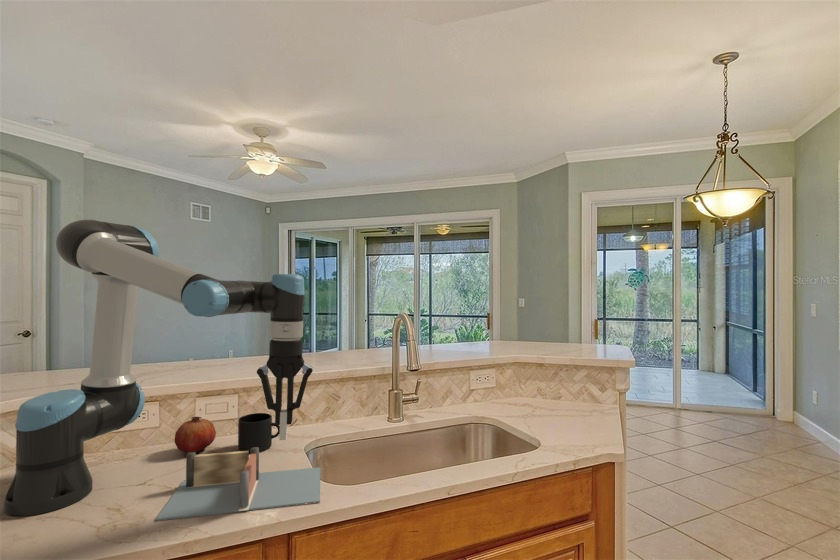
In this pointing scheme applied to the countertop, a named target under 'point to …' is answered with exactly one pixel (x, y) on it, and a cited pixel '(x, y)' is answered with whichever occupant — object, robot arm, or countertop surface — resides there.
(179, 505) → the mat
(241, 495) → the fence panel
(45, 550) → the countertop surface
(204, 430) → the fruit
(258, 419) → the mug
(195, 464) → the fence fixed
